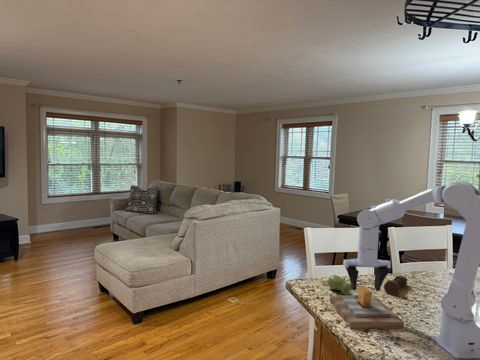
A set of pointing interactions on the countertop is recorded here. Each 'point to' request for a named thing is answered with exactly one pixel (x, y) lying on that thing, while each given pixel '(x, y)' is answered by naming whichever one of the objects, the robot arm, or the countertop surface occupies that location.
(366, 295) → the notched wooden block
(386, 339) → the countertop surface
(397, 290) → the bolt
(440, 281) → the countertop surface
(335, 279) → the pear
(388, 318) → the brown grey stepped board
